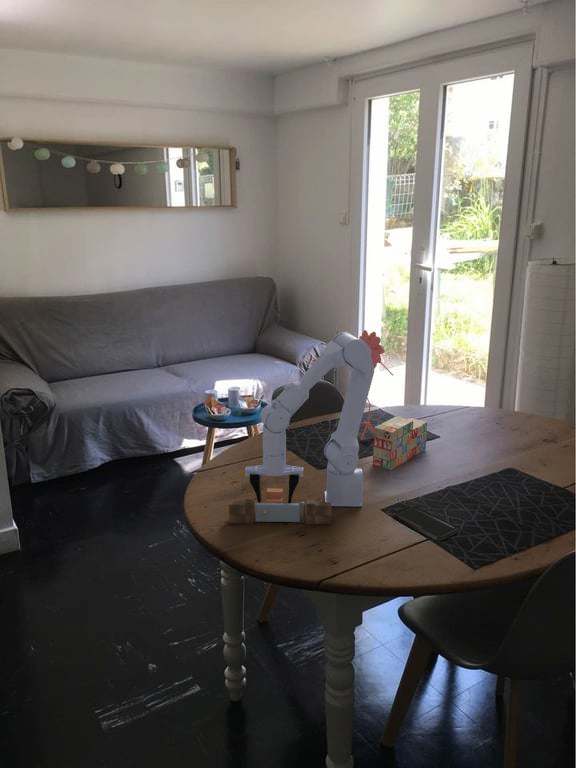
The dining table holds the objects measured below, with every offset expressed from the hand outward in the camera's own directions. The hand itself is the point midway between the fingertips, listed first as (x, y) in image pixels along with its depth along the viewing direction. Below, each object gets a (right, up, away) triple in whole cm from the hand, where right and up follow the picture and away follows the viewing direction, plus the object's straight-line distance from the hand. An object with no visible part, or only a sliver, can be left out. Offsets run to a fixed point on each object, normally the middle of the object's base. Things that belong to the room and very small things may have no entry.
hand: (274, 501), depth 161 cm
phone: (+37, -5, -6) cm, 38 cm away
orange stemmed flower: (+30, +13, +53) cm, 63 cm away
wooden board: (+1, -4, -6) cm, 7 cm away
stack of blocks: (+38, +7, +33) cm, 51 cm away
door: (+2, -4, -6) cm, 7 cm away
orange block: (0, -2, 0) cm, 3 cm away
